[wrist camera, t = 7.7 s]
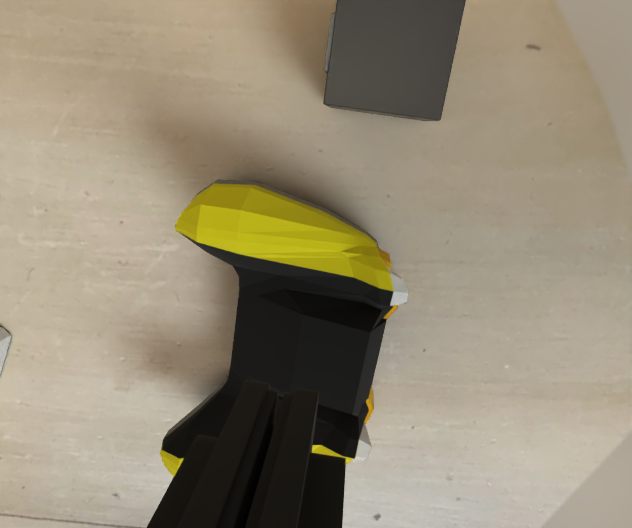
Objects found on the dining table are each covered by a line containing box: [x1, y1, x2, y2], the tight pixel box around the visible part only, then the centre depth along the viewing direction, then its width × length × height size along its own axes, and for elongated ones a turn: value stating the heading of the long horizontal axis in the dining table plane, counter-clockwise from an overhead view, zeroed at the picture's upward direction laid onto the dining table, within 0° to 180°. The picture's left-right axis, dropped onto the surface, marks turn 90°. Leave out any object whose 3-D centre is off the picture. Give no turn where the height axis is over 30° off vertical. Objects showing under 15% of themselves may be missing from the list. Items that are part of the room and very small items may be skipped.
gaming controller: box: [160, 180, 408, 477], centre depth 22 cm, size 15×6×10 cm
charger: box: [323, 0, 466, 121], centre depth 18 cm, size 5×4×4 cm
